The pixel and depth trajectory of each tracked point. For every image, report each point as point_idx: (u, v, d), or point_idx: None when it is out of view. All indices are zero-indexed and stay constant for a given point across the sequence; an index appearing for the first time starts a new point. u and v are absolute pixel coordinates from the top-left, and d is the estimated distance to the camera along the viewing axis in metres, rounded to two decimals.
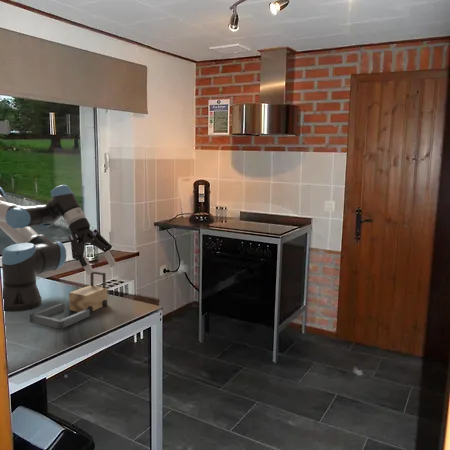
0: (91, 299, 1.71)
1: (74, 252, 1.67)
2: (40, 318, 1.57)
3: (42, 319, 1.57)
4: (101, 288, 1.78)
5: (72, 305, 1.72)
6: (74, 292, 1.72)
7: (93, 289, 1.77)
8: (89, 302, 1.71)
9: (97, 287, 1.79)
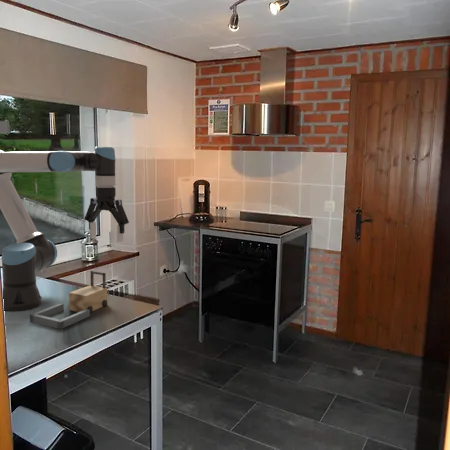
0: (91, 299, 1.71)
1: (125, 218, 1.77)
2: (40, 318, 1.57)
3: (42, 319, 1.57)
4: (101, 288, 1.78)
5: (72, 305, 1.72)
6: (74, 292, 1.72)
7: (93, 289, 1.77)
8: (89, 302, 1.71)
9: (97, 287, 1.79)
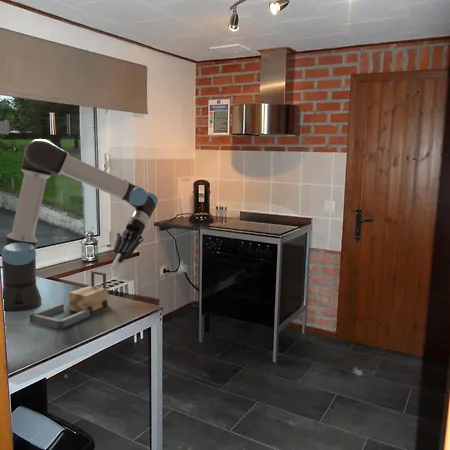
0: (90, 299, 1.71)
1: (131, 251, 1.91)
2: (40, 318, 1.57)
3: (42, 319, 1.57)
4: (101, 288, 1.78)
5: (72, 305, 1.72)
6: (74, 292, 1.72)
7: (93, 289, 1.77)
8: (89, 303, 1.70)
9: (97, 287, 1.79)
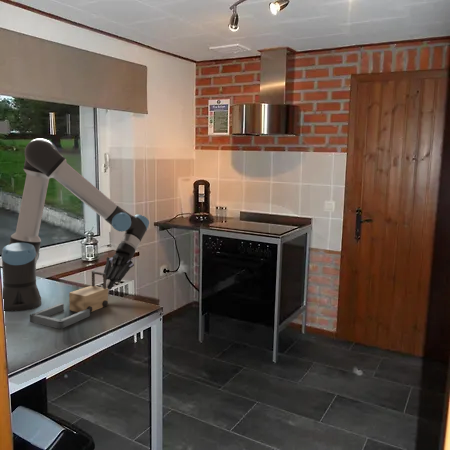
0: (90, 299, 1.71)
1: (120, 277, 1.85)
2: (40, 318, 1.57)
3: (42, 319, 1.57)
4: (102, 288, 1.78)
5: (72, 305, 1.72)
6: (74, 292, 1.72)
7: (93, 289, 1.76)
8: (89, 303, 1.70)
9: (98, 287, 1.79)
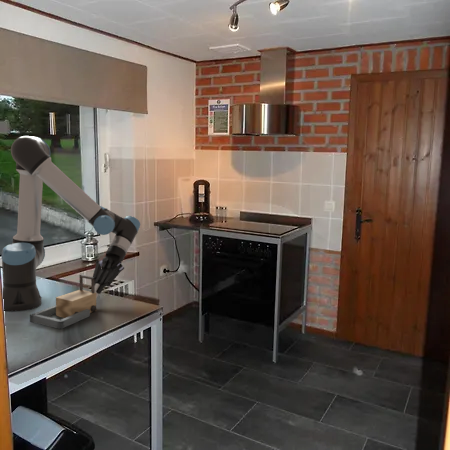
0: (77, 304, 1.64)
1: (110, 281, 1.79)
2: (40, 318, 1.57)
3: (42, 319, 1.57)
4: (90, 293, 1.71)
5: (58, 310, 1.65)
6: (61, 297, 1.65)
7: (81, 293, 1.70)
8: (76, 308, 1.64)
9: (86, 292, 1.72)
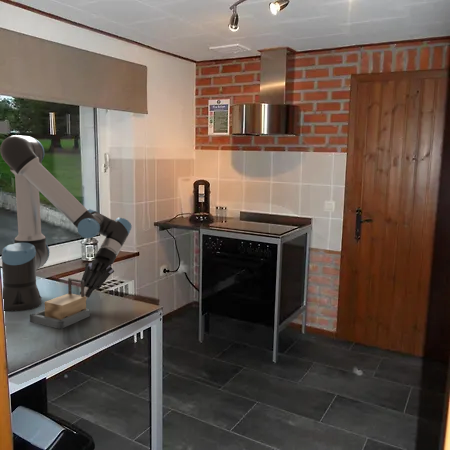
0: (68, 309, 1.60)
1: (99, 285, 1.74)
2: (40, 318, 1.57)
3: (42, 319, 1.57)
4: (79, 297, 1.67)
5: (47, 315, 1.60)
6: (50, 301, 1.60)
7: (70, 297, 1.65)
8: (66, 312, 1.59)
9: (75, 295, 1.68)
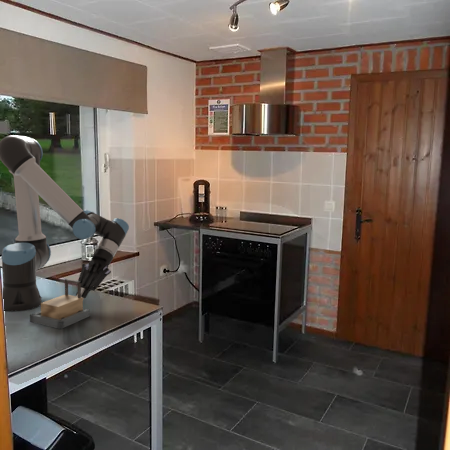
0: (64, 310, 1.58)
1: (96, 285, 1.73)
2: (40, 318, 1.57)
3: (42, 319, 1.57)
4: (76, 298, 1.65)
5: None
6: (46, 303, 1.59)
7: (67, 299, 1.64)
8: (62, 314, 1.58)
9: (72, 297, 1.66)
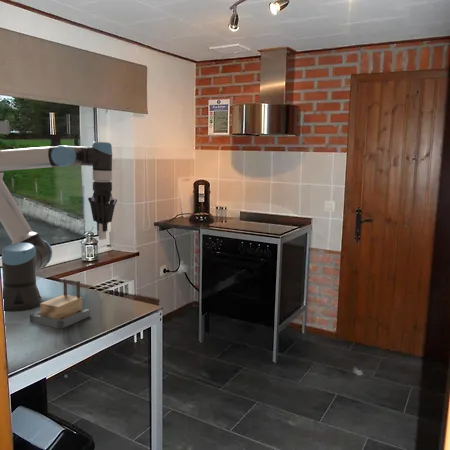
0: (64, 310, 1.58)
1: (110, 218, 1.83)
2: (40, 318, 1.57)
3: (42, 319, 1.57)
4: (75, 298, 1.65)
5: None
6: (45, 303, 1.59)
7: (66, 298, 1.64)
8: (62, 314, 1.58)
9: (71, 297, 1.66)
